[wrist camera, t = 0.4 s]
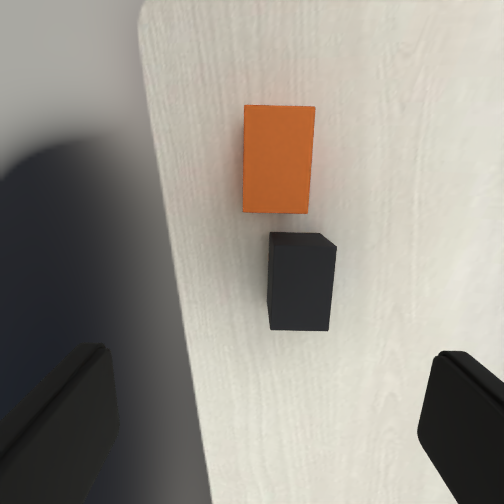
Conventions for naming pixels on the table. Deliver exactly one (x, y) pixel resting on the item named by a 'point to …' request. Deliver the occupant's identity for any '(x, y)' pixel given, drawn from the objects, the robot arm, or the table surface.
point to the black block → (300, 281)
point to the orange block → (277, 158)
